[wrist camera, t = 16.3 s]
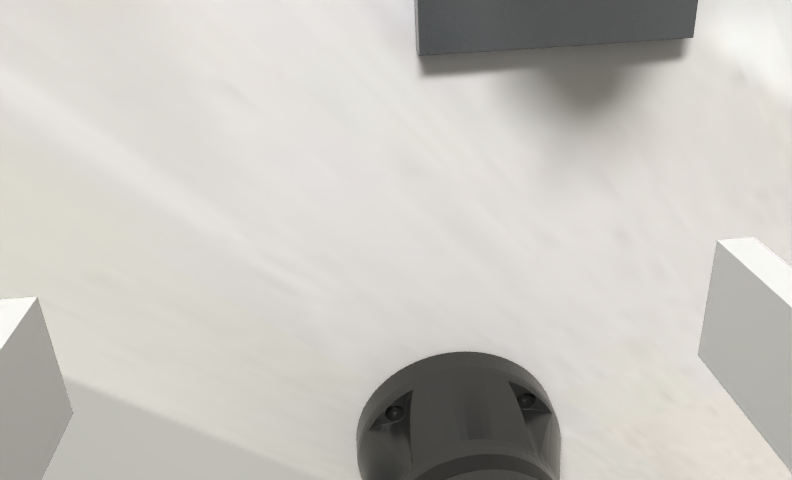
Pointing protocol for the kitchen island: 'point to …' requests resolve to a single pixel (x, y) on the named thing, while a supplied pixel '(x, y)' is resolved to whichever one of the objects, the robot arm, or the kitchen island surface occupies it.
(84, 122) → the kitchen island surface
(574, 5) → the stand
